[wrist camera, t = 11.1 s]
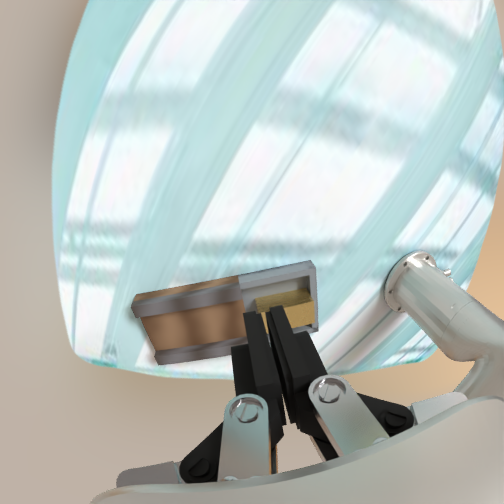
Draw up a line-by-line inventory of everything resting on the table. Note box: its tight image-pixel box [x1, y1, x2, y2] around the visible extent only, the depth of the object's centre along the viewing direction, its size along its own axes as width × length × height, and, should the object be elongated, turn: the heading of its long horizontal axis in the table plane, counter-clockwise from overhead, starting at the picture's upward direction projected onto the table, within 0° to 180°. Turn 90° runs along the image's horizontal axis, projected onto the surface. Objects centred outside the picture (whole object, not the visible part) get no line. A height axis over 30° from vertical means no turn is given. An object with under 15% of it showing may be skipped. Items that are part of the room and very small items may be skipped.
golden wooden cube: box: [255, 293, 288, 334], centre depth 41 cm, size 4×4×4 cm
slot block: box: [131, 275, 248, 365], centre depth 41 cm, size 16×12×4 cm
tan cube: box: [281, 288, 315, 328], centre depth 41 cm, size 4×4×4 cm
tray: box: [238, 260, 318, 343], centre depth 42 cm, size 11×12×2 cm
